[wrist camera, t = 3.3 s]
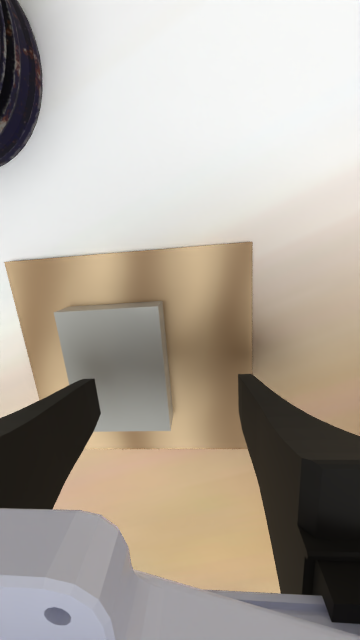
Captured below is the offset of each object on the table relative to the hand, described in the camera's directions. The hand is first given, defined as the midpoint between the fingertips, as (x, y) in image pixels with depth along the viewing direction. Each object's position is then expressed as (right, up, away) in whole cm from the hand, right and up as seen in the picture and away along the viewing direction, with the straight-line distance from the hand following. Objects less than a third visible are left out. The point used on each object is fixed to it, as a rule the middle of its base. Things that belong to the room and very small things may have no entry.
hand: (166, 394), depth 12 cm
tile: (0, +1, +3) cm, 3 cm away
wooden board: (-2, +1, +5) cm, 5 cm away
